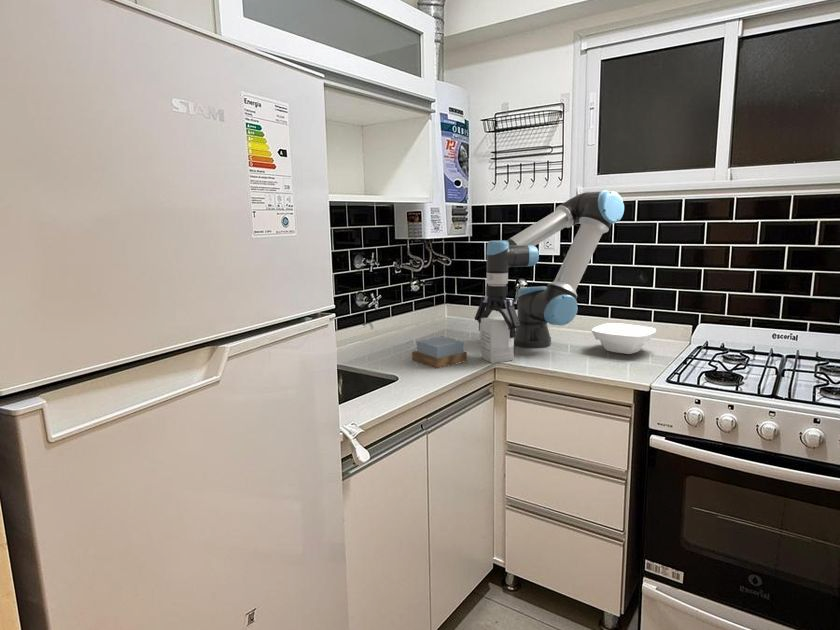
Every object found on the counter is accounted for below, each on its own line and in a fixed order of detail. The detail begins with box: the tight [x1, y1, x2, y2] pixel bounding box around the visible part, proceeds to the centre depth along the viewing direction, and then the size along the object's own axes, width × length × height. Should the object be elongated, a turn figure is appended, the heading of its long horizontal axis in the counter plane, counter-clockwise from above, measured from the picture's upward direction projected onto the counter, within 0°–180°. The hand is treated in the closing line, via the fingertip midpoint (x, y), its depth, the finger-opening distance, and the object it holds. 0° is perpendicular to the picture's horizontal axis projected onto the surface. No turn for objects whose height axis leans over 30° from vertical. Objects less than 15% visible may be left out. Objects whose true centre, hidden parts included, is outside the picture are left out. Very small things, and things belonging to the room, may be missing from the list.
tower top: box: [416, 335, 465, 358], centre depth 191 cm, size 12×12×4 cm
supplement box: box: [480, 315, 515, 364], centre depth 192 cm, size 9×9×15 cm
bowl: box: [591, 322, 657, 355], centre depth 199 cm, size 21×21×9 cm
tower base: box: [411, 350, 468, 369], centre depth 192 cm, size 14×14×4 cm
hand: (496, 343), depth 192 cm, fingers open, 13 cm apart
